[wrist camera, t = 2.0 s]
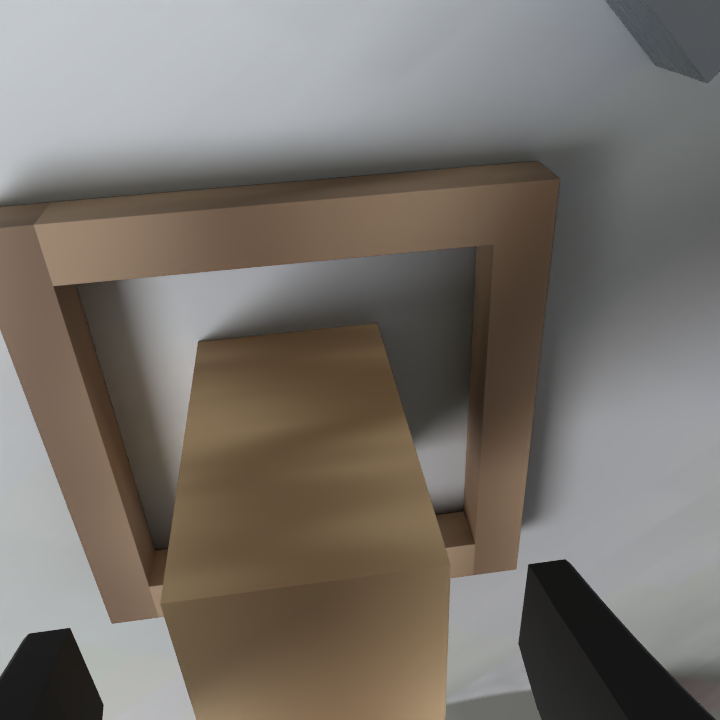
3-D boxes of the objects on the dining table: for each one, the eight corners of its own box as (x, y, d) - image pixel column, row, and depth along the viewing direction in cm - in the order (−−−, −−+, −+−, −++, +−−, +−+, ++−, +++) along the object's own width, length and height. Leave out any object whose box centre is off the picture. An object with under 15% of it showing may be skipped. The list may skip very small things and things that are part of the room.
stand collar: (537, 161, 14) (560, 178, 13) (503, 536, 20) (516, 569, 19) (-14, 207, 13) (-37, 230, 12) (119, 586, 19) (112, 623, 18)
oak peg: (377, 323, 15) (450, 565, 10) (382, 458, 18) (445, 724, 12) (198, 341, 15) (160, 604, 9) (225, 477, 17) (209, 760, 11)
